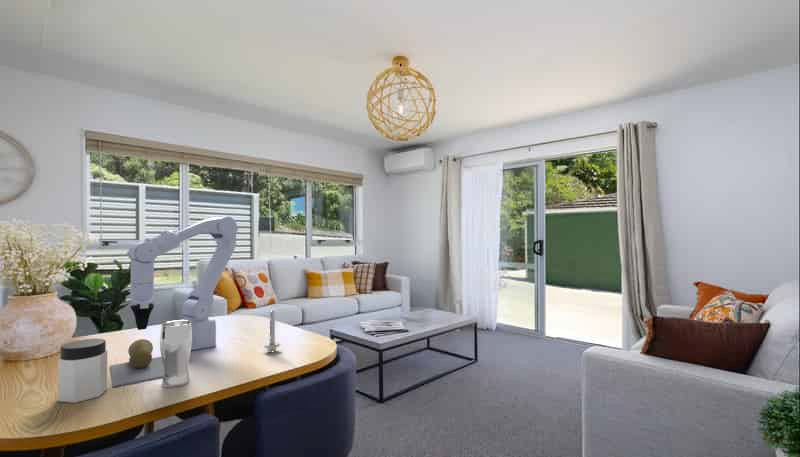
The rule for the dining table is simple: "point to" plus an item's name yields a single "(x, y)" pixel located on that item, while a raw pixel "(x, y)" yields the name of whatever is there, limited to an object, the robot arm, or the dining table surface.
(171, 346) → the beer glass
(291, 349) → the dining table surface
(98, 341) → the jar
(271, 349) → the screw
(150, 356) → the cork
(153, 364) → the mat
